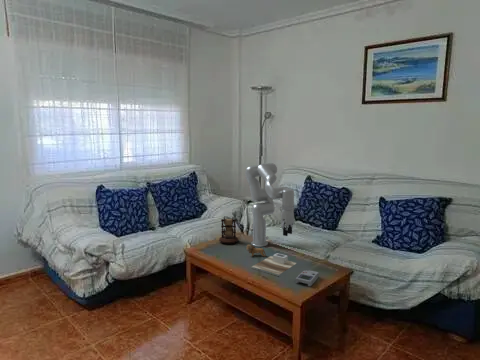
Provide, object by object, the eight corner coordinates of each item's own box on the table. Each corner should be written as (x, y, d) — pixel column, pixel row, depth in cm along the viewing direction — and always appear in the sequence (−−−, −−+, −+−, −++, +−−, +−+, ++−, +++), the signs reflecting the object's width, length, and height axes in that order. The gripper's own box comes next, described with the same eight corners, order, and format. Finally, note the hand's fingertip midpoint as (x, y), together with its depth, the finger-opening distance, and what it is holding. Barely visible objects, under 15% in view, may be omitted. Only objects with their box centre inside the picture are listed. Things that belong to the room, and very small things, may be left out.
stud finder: (276, 258, 227) (277, 252, 226) (287, 261, 222) (287, 255, 222) (272, 261, 223) (273, 254, 223) (283, 264, 218) (283, 257, 218)
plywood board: (270, 258, 232) (270, 256, 232) (296, 265, 220) (296, 263, 220) (251, 268, 215) (251, 266, 215) (279, 277, 203) (279, 274, 203)
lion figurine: (245, 258, 232) (245, 245, 230) (246, 255, 237) (246, 243, 236) (267, 259, 231) (267, 246, 229) (267, 256, 236) (267, 243, 235)
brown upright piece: (239, 239, 272) (239, 214, 269) (237, 245, 258) (237, 219, 255) (220, 238, 274) (220, 214, 271) (217, 244, 259) (217, 219, 256)
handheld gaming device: (318, 277, 202) (319, 271, 202) (310, 287, 190) (310, 281, 189) (304, 274, 207) (304, 268, 206) (295, 284, 194) (295, 278, 194)
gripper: (289, 204, 234) (288, 230, 236) (276, 209, 220) (275, 236, 223) (299, 206, 229) (298, 232, 232) (286, 211, 216) (286, 239, 218)
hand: (287, 234), depth 227 cm, fingers open, 5 cm apart
